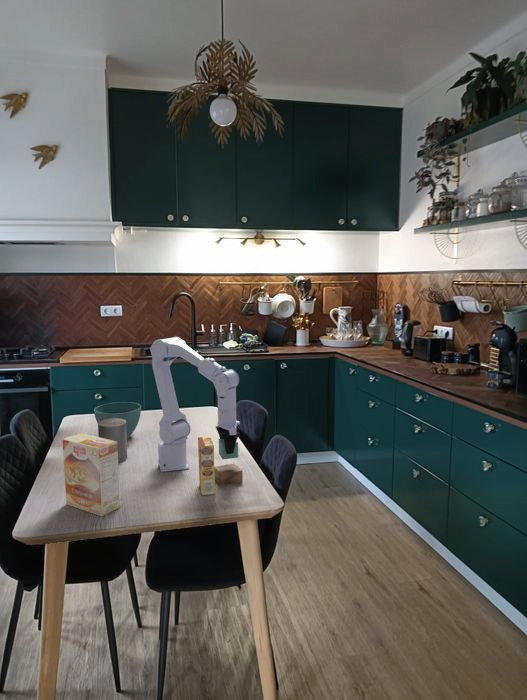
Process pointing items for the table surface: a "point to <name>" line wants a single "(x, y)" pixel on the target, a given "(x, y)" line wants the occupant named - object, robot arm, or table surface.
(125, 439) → the pillar candle
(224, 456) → the teal cube
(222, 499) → the table surface
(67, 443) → the coffeecake box
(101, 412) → the green bowl
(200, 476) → the candy box
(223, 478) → the block
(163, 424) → the robot arm
